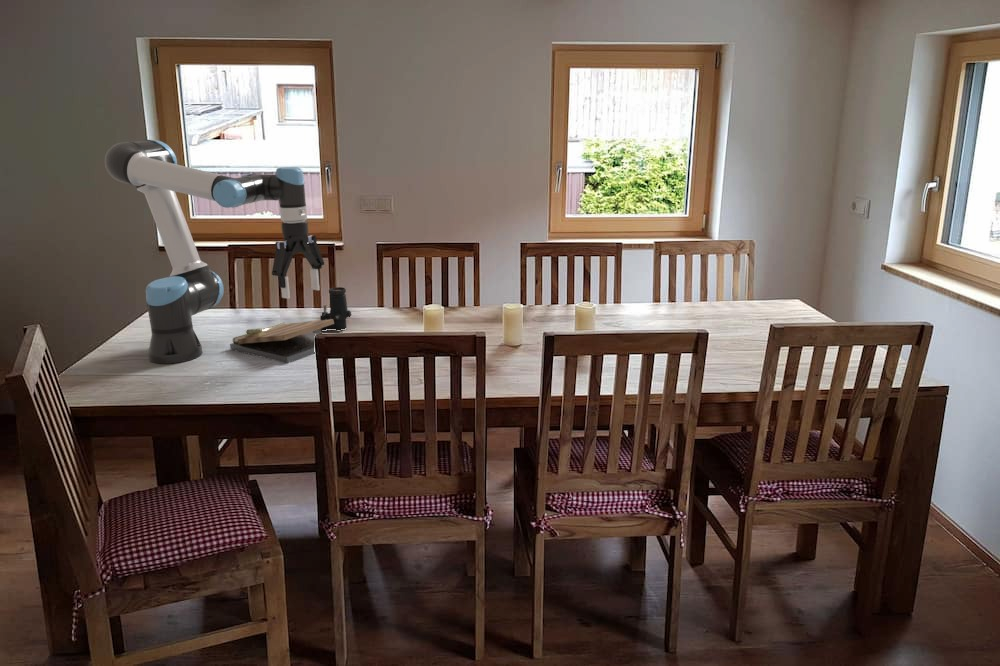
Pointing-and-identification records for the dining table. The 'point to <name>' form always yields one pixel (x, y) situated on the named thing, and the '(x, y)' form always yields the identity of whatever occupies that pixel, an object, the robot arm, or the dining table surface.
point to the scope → (336, 309)
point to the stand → (279, 347)
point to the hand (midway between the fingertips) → (301, 293)
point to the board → (283, 331)
